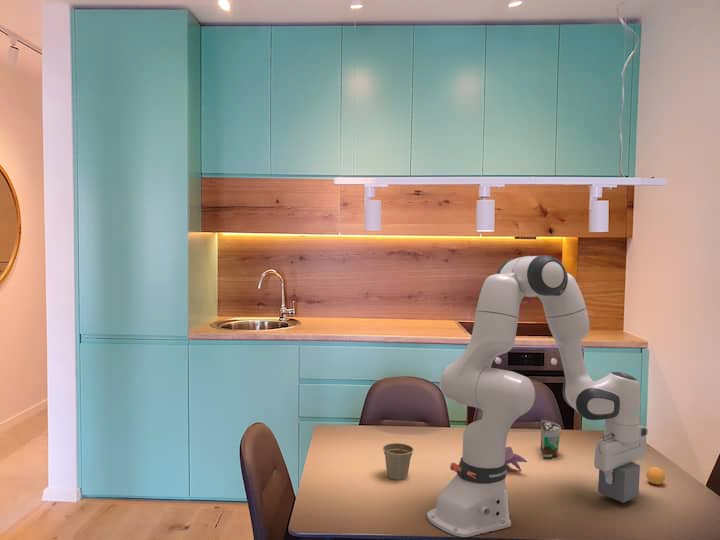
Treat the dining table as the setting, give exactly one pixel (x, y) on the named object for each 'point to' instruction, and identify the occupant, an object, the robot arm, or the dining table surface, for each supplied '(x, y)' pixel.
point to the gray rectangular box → (621, 483)
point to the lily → (513, 458)
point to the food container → (550, 439)
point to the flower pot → (397, 460)
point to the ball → (655, 475)
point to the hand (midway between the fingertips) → (618, 479)
